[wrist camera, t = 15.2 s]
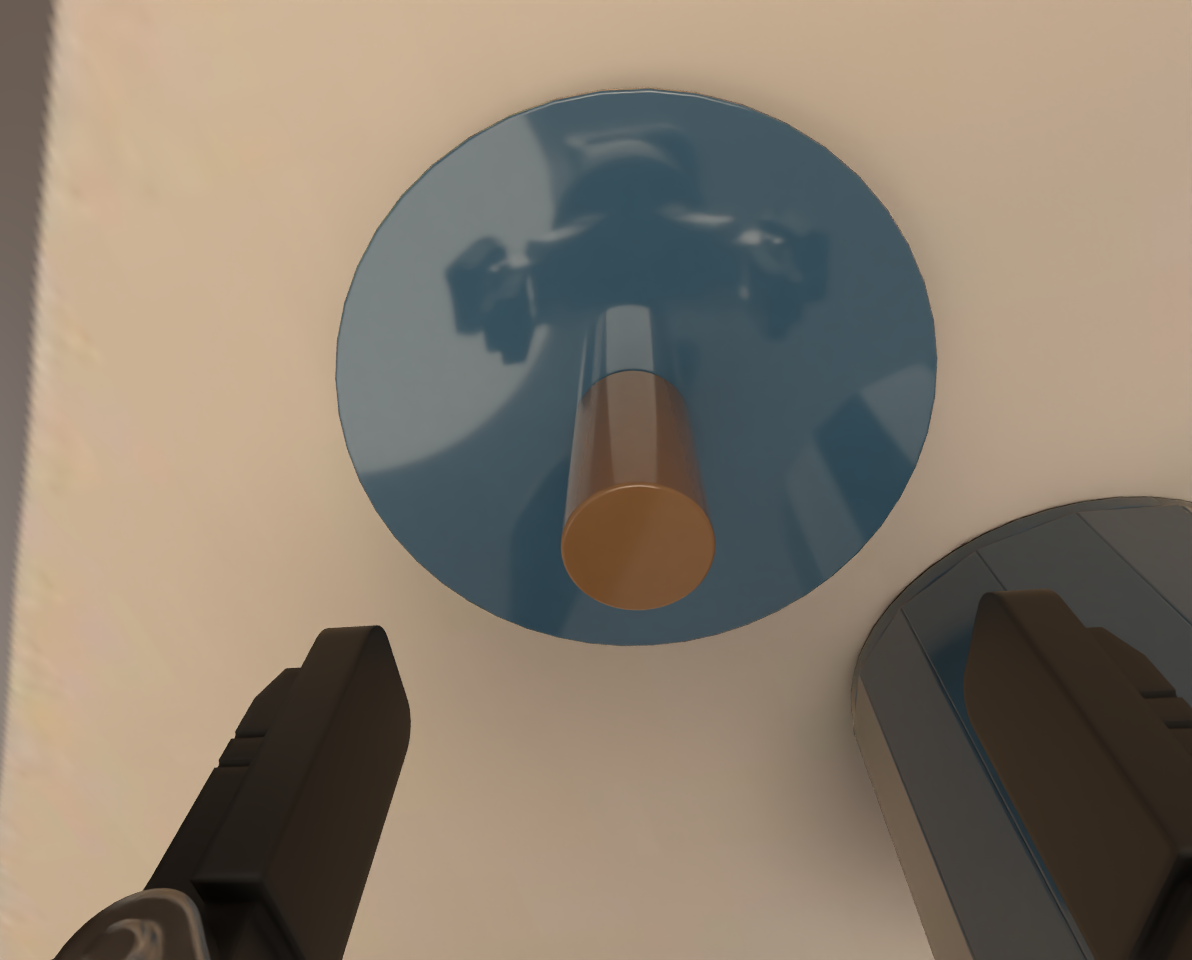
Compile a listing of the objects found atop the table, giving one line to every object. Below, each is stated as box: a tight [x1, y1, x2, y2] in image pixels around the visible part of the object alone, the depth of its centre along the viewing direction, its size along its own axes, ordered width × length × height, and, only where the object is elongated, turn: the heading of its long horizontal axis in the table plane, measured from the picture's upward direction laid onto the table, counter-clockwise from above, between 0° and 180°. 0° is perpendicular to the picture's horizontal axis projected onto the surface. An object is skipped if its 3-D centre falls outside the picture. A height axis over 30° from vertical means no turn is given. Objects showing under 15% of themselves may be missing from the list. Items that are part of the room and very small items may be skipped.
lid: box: [335, 87, 937, 646], centre depth 15 cm, size 13×13×6 cm
